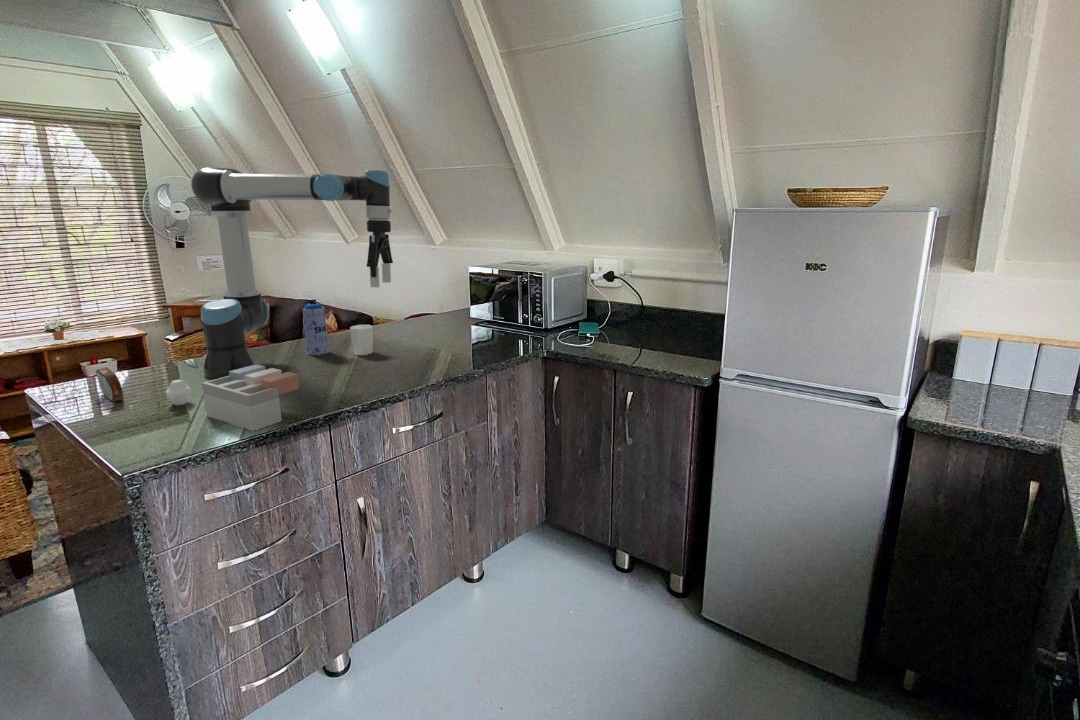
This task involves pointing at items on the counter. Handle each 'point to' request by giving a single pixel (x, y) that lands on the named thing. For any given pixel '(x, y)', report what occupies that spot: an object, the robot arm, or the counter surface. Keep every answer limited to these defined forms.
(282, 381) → the terracotta key
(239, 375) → the blue-grey rectangular block
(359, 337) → the white cup
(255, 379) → the ivory key
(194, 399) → the counter surface
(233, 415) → the grey slotted rack
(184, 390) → the muffin
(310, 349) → the aerosol can
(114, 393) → the tin
